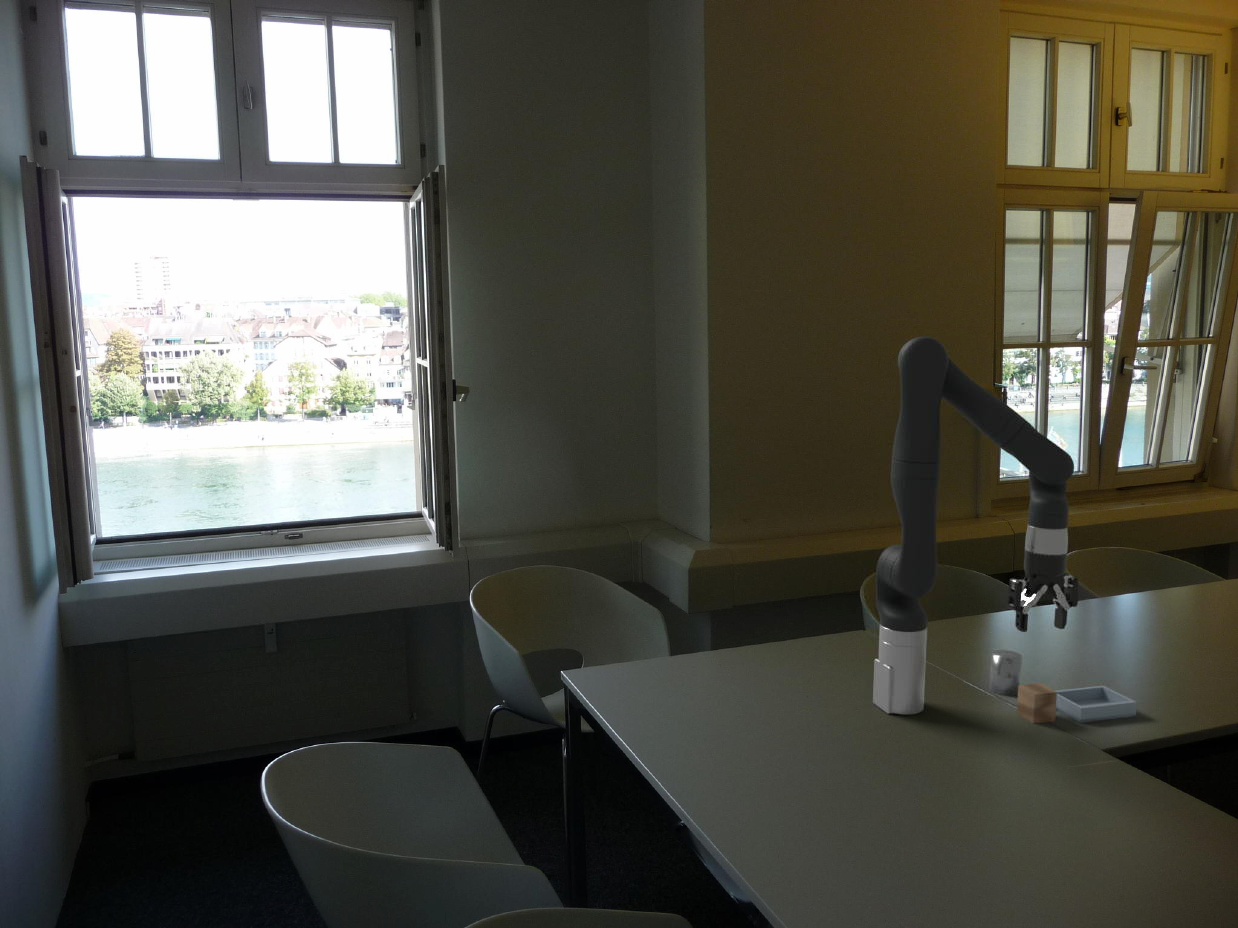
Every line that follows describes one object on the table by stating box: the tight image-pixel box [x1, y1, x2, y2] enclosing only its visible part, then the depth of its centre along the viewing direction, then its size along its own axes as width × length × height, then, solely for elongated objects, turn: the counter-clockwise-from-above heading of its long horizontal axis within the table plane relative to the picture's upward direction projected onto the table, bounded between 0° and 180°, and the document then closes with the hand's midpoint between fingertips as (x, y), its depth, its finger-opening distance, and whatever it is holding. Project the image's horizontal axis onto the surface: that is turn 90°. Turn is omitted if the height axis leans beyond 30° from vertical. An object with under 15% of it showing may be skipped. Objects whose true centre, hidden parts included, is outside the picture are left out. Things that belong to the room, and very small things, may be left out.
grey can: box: [989, 649, 1023, 697], centre depth 203 cm, size 6×6×8 cm
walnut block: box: [1016, 682, 1057, 725], centre depth 189 cm, size 5×5×6 cm
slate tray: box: [1055, 685, 1138, 724], centre depth 192 cm, size 13×9×3 cm
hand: (1040, 629), depth 187 cm, fingers open, 8 cm apart
